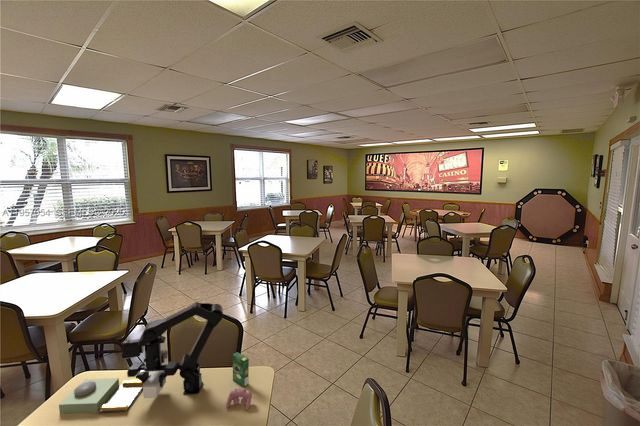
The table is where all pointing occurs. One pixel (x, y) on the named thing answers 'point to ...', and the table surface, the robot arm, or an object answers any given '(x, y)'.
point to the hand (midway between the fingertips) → (155, 387)
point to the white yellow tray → (123, 397)
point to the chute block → (152, 385)
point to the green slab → (89, 396)
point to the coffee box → (240, 369)
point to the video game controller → (238, 393)
